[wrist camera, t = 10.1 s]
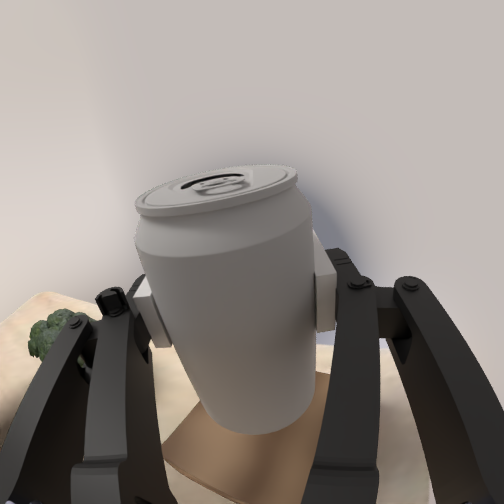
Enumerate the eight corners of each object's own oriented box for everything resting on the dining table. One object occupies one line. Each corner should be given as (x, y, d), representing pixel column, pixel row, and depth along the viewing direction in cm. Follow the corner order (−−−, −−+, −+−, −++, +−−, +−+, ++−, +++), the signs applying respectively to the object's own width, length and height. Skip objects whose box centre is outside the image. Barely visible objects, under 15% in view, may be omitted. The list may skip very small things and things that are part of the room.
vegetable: (48, 348, 32) (101, 289, 33) (94, 417, 30) (158, 368, 31) (-8, 356, 20) (41, 282, 21) (45, 447, 18) (109, 397, 19)
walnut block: (178, 471, 18) (155, 451, 16) (247, 380, 28) (239, 350, 26) (312, 530, 12) (315, 526, 10) (364, 411, 22) (373, 382, 20)
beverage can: (289, 343, 18) (268, 156, 13) (334, 414, 12) (347, 173, 7) (197, 371, 17) (134, 185, 11) (218, 455, 11) (105, 228, 6)
